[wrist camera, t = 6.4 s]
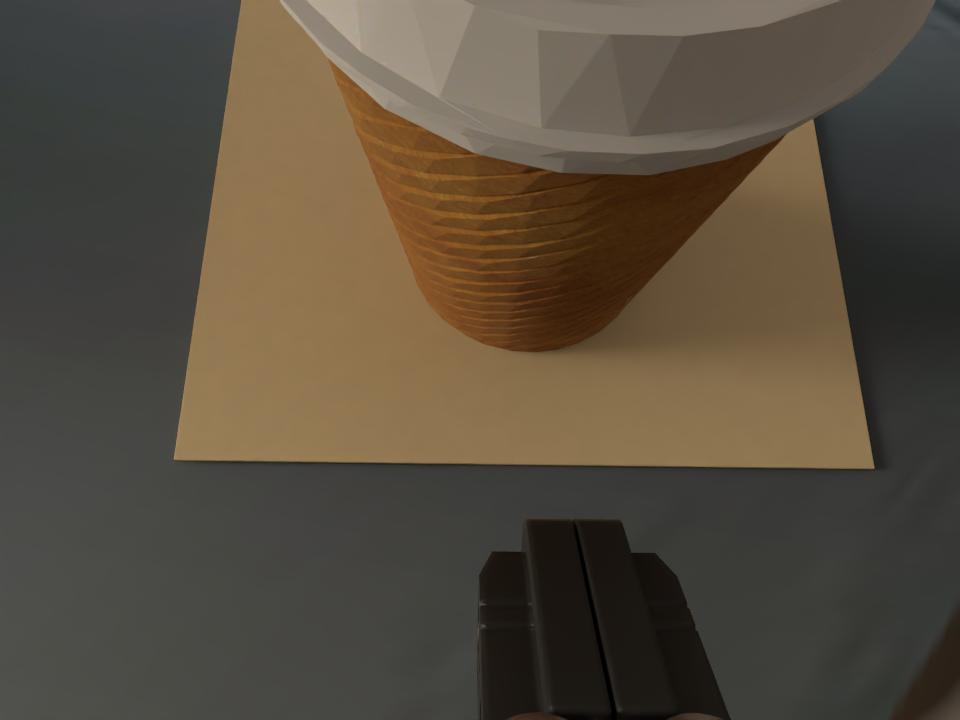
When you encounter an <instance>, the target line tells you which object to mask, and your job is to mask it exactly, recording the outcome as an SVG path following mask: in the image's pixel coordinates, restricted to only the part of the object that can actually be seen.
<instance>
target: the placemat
mask: <svg viewBox="0 0 960 720" xmlns="http://www.w3.org/2000/svg"><path fill="white" fill-rule="evenodd" d="M174 460H175V461H243V462H324V463H405V464H486V465H567V466H648V467H729V468H810V469H874V462H873V456H872V451H871V445H870V439H869V434H868V428H867V422H866V417H865V411H864V405H863V399H862V394H861V388H860V382H859V377H858V371H857V365H856V360H855V354H854V348H853V343H852V337H851V331H850V325H849V320H848V314H847V308H846V303H845V297H844V291H843V286H842V280H841V274H840V268H839V263H838V257H837V251H836V246H835V240H834V234H833V229H832V223H831V217H830V212H829V206H828V200H827V194H826V189H825V183H824V177H823V172H822V166H821V160H820V155H819V149H818V143H817V137H816V132H815V126H814V120H813V119H812V120H810V121H808V122H806V123H805V124H803V125H801V126H799V127H797V128H796V129H794V130H792V131H790V132H789V133H787V134H786V135H785V136H784V138H783V139H782V140H781V141H780V143H779V144H778V145H777V146H776V147H775V148H774V149H773V150H772V151H771V152H770V153H769V154H768V155H767V156H766V157H765V158H764V159H763V160H762V162H761V163H760V164H759V165H758V166H757V167H756V168H755V169H754V170H753V171H752V172H751V173H750V174H749V175H748V176H747V177H746V178H745V180H744V181H743V182H742V183H741V184H740V185H739V186H738V187H737V188H736V189H735V190H734V191H733V192H732V193H731V194H730V195H729V197H728V198H727V199H726V200H725V201H724V202H723V203H722V204H721V205H720V206H719V207H718V208H717V209H716V210H715V211H714V213H713V214H712V215H711V216H710V217H709V218H708V219H707V220H706V221H705V222H704V223H703V224H702V225H701V226H700V227H699V228H698V229H697V231H696V232H695V233H694V234H693V235H692V236H691V237H690V238H689V239H688V240H687V241H686V243H685V244H684V245H683V246H682V247H681V248H680V249H679V250H678V251H677V252H676V254H675V255H674V256H673V257H672V258H671V259H670V260H669V261H668V262H667V263H666V264H665V265H664V266H663V267H662V268H661V269H660V270H659V271H658V272H657V273H656V274H655V275H654V277H653V278H652V279H651V280H650V281H649V282H648V283H647V284H646V285H645V286H644V287H643V289H642V290H641V291H640V292H639V293H638V294H637V295H636V296H635V297H634V298H633V299H632V300H631V301H630V302H629V303H628V304H627V305H626V306H625V308H624V309H623V310H622V311H621V312H620V313H619V315H618V316H617V317H616V318H615V319H614V320H613V321H612V322H610V323H609V324H608V325H607V326H606V327H604V328H603V329H602V330H601V331H600V332H598V333H596V334H594V335H593V336H591V337H589V338H587V339H585V340H583V341H582V342H580V343H577V344H574V345H571V346H567V347H564V348H561V349H558V350H551V351H542V352H522V351H510V350H506V349H502V348H497V347H493V346H489V345H485V344H483V343H480V342H478V341H476V340H474V339H472V338H470V337H468V336H466V335H465V334H463V333H462V332H460V331H459V330H457V329H456V328H454V327H453V326H451V325H450V324H449V323H447V322H446V321H444V320H443V319H442V318H441V317H440V315H439V314H438V313H437V312H436V311H435V310H434V309H433V308H432V307H431V306H430V305H429V303H428V302H427V300H426V298H425V297H424V295H423V293H422V292H421V290H420V288H419V287H418V285H417V282H416V279H415V277H414V274H413V271H412V268H411V266H410V264H409V261H408V258H407V256H406V253H405V251H404V247H403V245H402V243H401V241H400V238H399V235H398V233H397V231H396V229H395V226H394V223H393V221H392V219H391V217H390V214H389V211H388V208H387V206H386V204H385V201H384V199H383V197H382V194H381V191H380V189H379V186H378V184H377V182H376V179H375V176H374V174H373V171H372V169H371V167H370V164H369V160H368V158H367V156H366V154H365V152H364V150H363V147H362V144H361V141H360V138H359V137H358V136H357V133H356V130H355V127H354V123H353V119H352V118H351V116H350V114H349V112H348V110H347V107H346V105H345V102H344V98H343V95H342V94H341V91H340V89H339V87H338V85H337V83H336V80H335V77H334V73H333V70H332V69H331V66H330V64H329V61H328V59H327V57H326V56H325V54H324V53H323V51H322V50H321V48H320V47H319V46H318V45H317V44H316V43H315V41H314V40H313V39H312V38H311V37H310V36H309V35H308V34H307V33H306V31H305V30H304V29H303V28H302V27H301V26H300V25H299V24H298V22H297V21H296V20H295V19H294V18H293V17H292V16H291V15H290V13H289V12H288V11H287V10H286V9H285V8H284V7H283V6H282V4H281V2H280V0H241V7H240V14H239V20H238V27H237V34H236V41H235V48H234V54H233V61H232V68H231V75H230V82H229V88H228V95H227V102H226V109H225V116H224V123H223V129H222V136H221V143H220V150H219V157H218V163H217V170H216V177H215V184H214V191H213V197H212V204H211V211H210V218H209V225H208V231H207V238H206V245H205V252H204V259H203V266H202V272H201V279H200V286H199V293H198V300H197V306H196V313H195V320H194V327H193V334H192V340H191V347H190V354H189V361H188V368H187V374H186V381H185V388H184V395H183V402H182V409H181V415H180V422H179V429H178V436H177V443H176V449H175V456H174Z"/></svg>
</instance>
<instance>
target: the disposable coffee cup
mask: <svg viewBox="0 0 960 720" xmlns="http://www.w3.org/2000/svg"><path fill="white" fill-rule="evenodd" d="M935 1H936V0H280V2H281V4H282V6H283V7H284V8H285V9H286V10H287V11H288V12H289V13H290V15H291V16H292V17H293V18H294V19H295V20H296V21H297V22H298V24H299V25H300V26H301V27H302V28H303V29H304V30H305V31H306V33H307V34H308V35H309V36H310V37H311V38H312V39H313V40H314V41H315V43H316V44H317V45H318V46H319V47H320V48H321V50H322V51H323V53H324V54H325V56H326V57H327V59H328V61H329V64H330V66H331V69H332V70H333V73H334V77H335V80H336V83H337V85H338V87H339V89H340V91H341V94H342V95H343V98H344V102H345V105H346V107H347V110H348V112H349V114H350V116H351V118H352V119H353V123H354V127H355V130H356V133H357V136H358V137H359V138H360V141H361V144H362V147H363V150H364V152H365V154H366V156H367V158H368V160H369V164H370V167H371V169H372V171H373V174H374V176H375V179H376V182H377V184H378V186H379V189H380V191H381V194H382V197H383V199H384V201H385V204H386V206H387V208H388V211H389V214H390V217H391V219H392V221H393V223H394V226H395V229H396V231H397V233H398V235H399V238H400V241H401V243H402V245H403V247H404V251H405V253H406V256H407V258H408V261H409V264H410V266H411V268H412V271H413V274H414V277H415V279H416V282H417V285H418V287H419V288H420V290H421V292H422V293H423V295H424V297H425V298H426V300H427V302H428V303H429V305H430V306H431V307H432V308H433V309H434V310H435V311H436V312H437V313H438V314H439V315H440V317H441V318H442V319H443V320H444V321H446V322H447V323H449V324H450V325H451V326H453V327H454V328H456V329H457V330H459V331H460V332H462V333H463V334H465V335H466V336H468V337H470V338H472V339H474V340H476V341H478V342H480V343H483V344H485V345H489V346H493V347H497V348H502V349H506V350H510V351H522V352H542V351H551V350H558V349H561V348H564V347H567V346H571V345H574V344H577V343H580V342H582V341H583V340H585V339H587V338H589V337H591V336H593V335H594V334H596V333H598V332H600V331H601V330H602V329H603V328H604V327H606V326H607V325H608V324H609V323H610V322H612V321H613V320H614V319H615V318H616V317H617V316H618V315H619V313H620V312H621V311H622V310H623V309H624V308H625V306H626V305H627V304H628V303H629V302H630V301H631V300H632V299H633V298H634V297H635V296H636V295H637V294H638V293H639V292H640V291H641V290H642V289H643V287H644V286H645V285H646V284H647V283H648V282H649V281H650V280H651V279H652V278H653V277H654V275H655V274H656V273H657V272H658V271H659V270H660V269H661V268H662V267H663V266H664V265H665V264H666V263H667V262H668V261H669V260H670V259H671V258H672V257H673V256H674V255H675V254H676V252H677V251H678V250H679V249H680V248H681V247H682V246H683V245H684V244H685V243H686V241H687V240H688V239H689V238H690V237H691V236H692V235H693V234H694V233H695V232H696V231H697V229H698V228H699V227H700V226H701V225H702V224H703V223H704V222H705V221H706V220H707V219H708V218H709V217H710V216H711V215H712V214H713V213H714V211H715V210H716V209H717V208H718V207H719V206H720V205H721V204H722V203H723V202H724V201H725V200H726V199H727V198H728V197H729V195H730V194H731V193H732V192H733V191H734V190H735V189H736V188H737V187H738V186H739V185H740V184H741V183H742V182H743V181H744V180H745V178H746V177H747V176H748V175H749V174H750V173H751V172H752V171H753V170H754V169H755V168H756V167H757V166H758V165H759V164H760V163H761V162H762V160H763V159H764V158H765V157H766V156H767V155H768V154H769V153H770V152H771V151H772V150H773V149H774V148H775V147H776V146H777V145H778V144H779V143H780V141H781V140H782V139H783V138H784V136H785V135H786V134H787V133H789V132H790V131H792V130H794V129H796V128H797V127H799V126H801V125H803V124H805V123H806V122H808V121H810V120H812V119H814V118H815V117H817V116H819V115H821V114H823V113H824V112H826V111H828V110H830V109H832V108H833V107H835V106H837V105H839V104H841V103H842V102H844V101H846V100H848V99H849V98H851V97H853V96H855V95H857V94H858V93H860V92H861V91H862V90H863V89H864V88H865V87H867V86H868V85H869V84H870V83H871V82H872V81H873V80H874V79H875V78H876V77H877V76H878V75H880V74H881V73H882V72H883V71H884V70H885V69H886V68H887V67H888V66H889V65H890V64H891V63H892V62H893V60H894V59H895V58H896V57H897V56H898V55H899V54H900V53H901V52H902V50H903V49H904V48H905V47H906V46H907V44H908V43H909V42H910V41H911V40H912V38H913V37H914V36H915V35H916V34H917V32H918V31H919V30H920V29H921V28H922V26H923V24H924V22H925V20H926V19H927V17H928V15H929V13H930V11H931V9H932V7H933V5H934V3H935Z"/></svg>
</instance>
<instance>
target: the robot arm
mask: <svg viewBox="0 0 960 720" xmlns="http://www.w3.org/2000/svg"><path fill="white" fill-rule="evenodd" d="M477 686H478V720H731V719H730V717H729V714H728V712H727V709H726V706H725V704H724V701H723V698H722V695H721V693H720V690H719V687H718V685H717V682H716V679H715V677H714V674H713V671H712V669H711V666H710V663H709V661H708V658H707V655H706V653H705V650H704V647H703V645H702V642H701V639H700V637H699V634H698V631H696V630H695V623H694V620H693V618H692V615H691V612H690V610H689V608H687V602H686V599H685V596H684V594H683V591H682V588H681V586H680V583H679V580H678V578H677V576H676V575H675V574H674V573H673V572H672V570H671V569H670V568H669V567H668V566H667V565H666V564H665V563H664V562H663V561H662V560H661V559H660V558H659V557H658V556H657V555H656V554H655V553H631V550H630V547H629V544H628V541H627V537H626V534H625V531H624V527H623V525H622V522H621V521H620V520H605V519H573V521H571V519H525V520H524V525H523V538H522V552H492V553H491V555H490V557H489V558H488V560H487V562H486V564H485V566H484V567H483V569H482V571H481V573H480V574H479V600H478V629H477Z"/></svg>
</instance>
